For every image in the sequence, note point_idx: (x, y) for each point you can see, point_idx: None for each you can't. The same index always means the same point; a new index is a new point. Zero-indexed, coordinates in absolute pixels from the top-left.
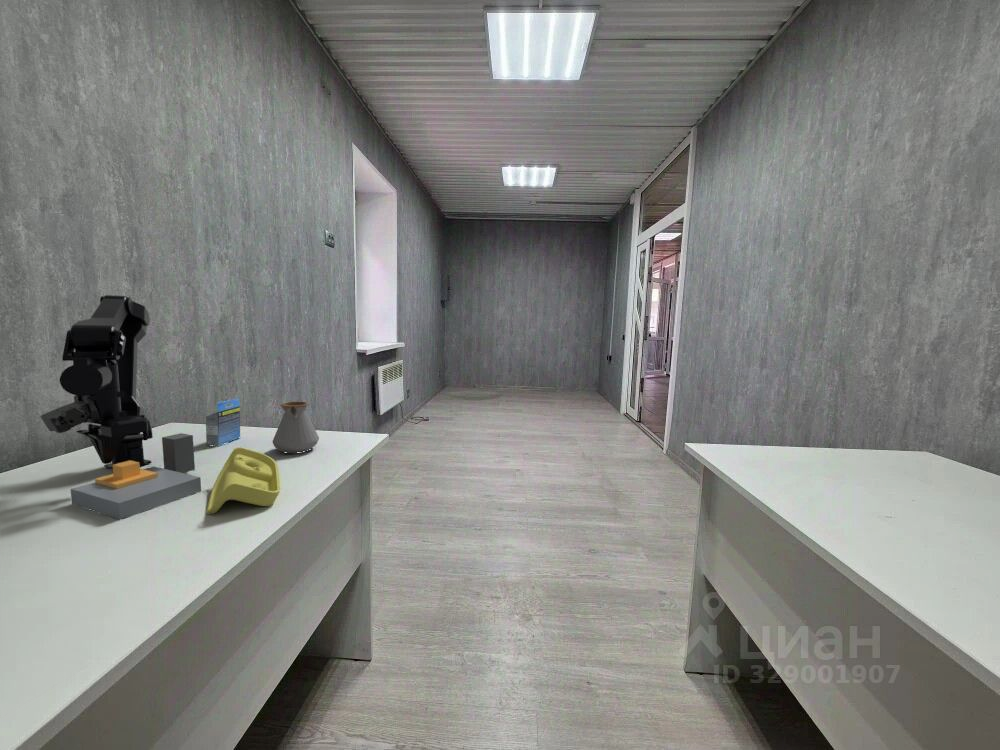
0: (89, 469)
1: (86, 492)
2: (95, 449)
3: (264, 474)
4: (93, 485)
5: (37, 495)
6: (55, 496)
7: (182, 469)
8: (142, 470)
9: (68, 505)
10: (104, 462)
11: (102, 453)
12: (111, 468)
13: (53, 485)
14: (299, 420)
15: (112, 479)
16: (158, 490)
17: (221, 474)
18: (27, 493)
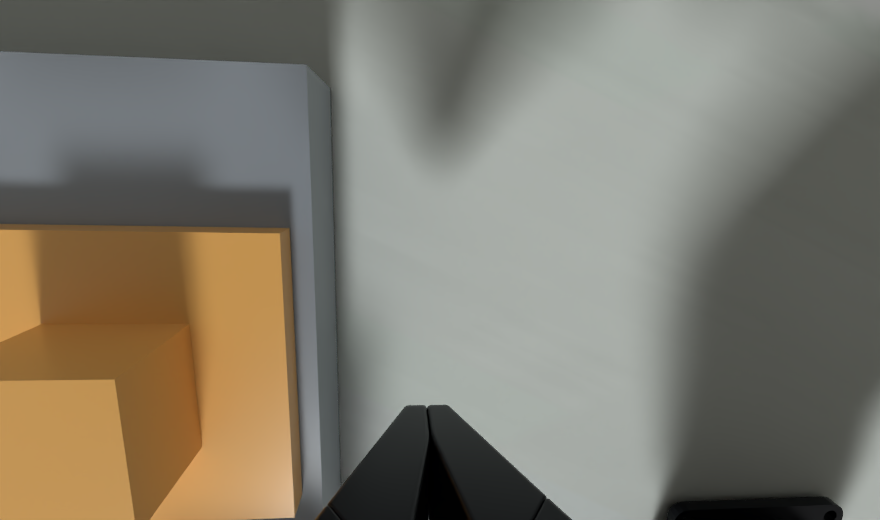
0: (875, 444)
1: (77, 68)
2: (530, 485)
3: None
4: (234, 190)
5: (699, 85)
6: (578, 121)
7: None
8: (175, 507)
9: (329, 68)
10: (402, 410)
11: (376, 468)
12: (759, 500)
13: (792, 219)
14: None
15: (121, 287)
16: None
17: None
18: (793, 78)
